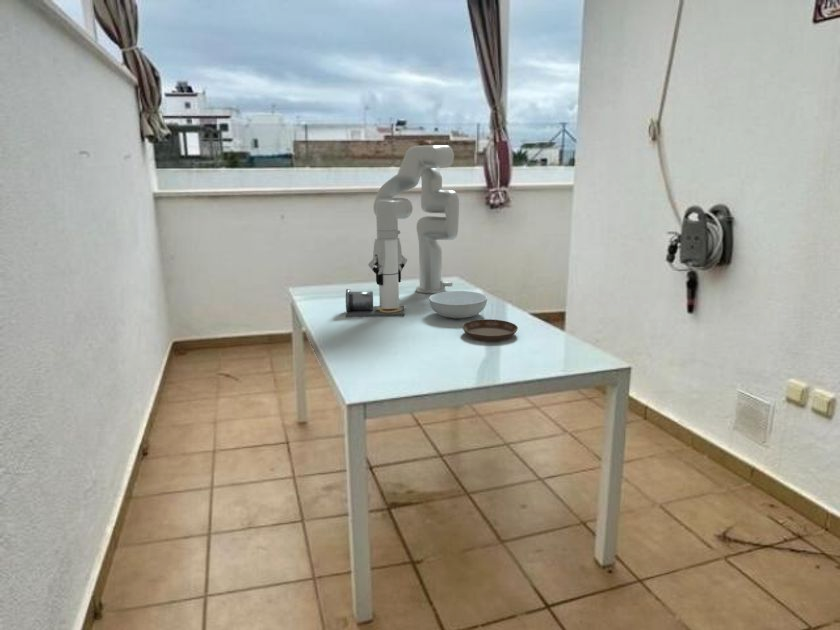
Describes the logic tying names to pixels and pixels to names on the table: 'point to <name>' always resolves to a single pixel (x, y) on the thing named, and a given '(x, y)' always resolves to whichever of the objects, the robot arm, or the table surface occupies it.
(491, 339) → the plant saucer
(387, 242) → the cylindrical container
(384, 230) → the robot arm
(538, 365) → the table surface
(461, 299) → the serving bowl
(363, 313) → the pipe fitting board
